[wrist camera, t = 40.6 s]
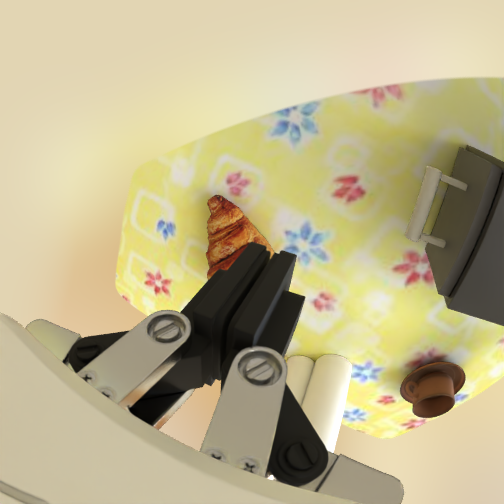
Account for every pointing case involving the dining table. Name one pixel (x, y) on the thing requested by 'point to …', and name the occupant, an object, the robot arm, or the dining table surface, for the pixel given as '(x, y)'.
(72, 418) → the robot arm
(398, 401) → the dining table surface
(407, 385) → the cup and saucer
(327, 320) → the dining table surface
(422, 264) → the dining table surface
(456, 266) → the drawer
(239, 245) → the croissant
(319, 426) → the vase
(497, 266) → the cabinet
